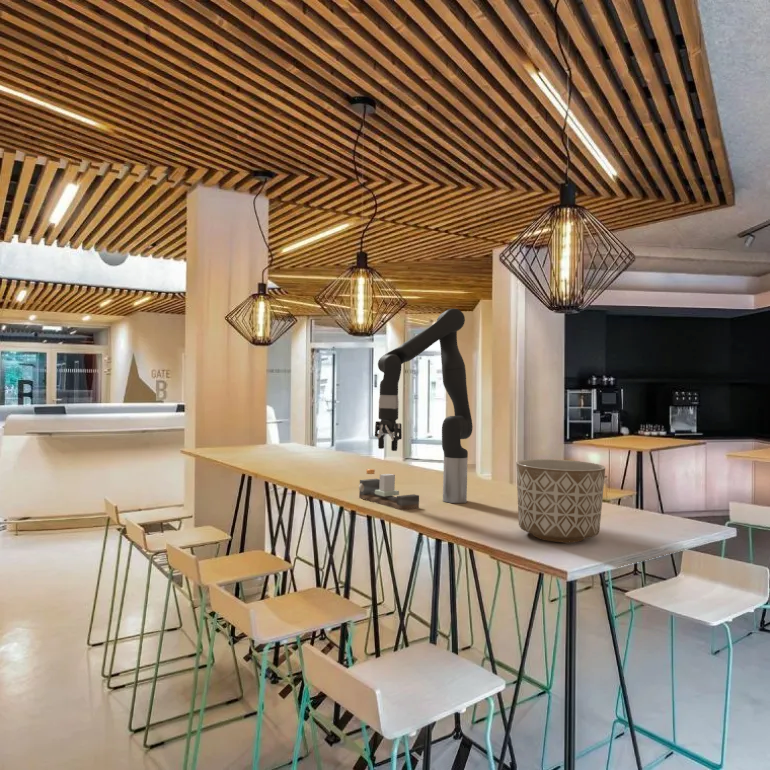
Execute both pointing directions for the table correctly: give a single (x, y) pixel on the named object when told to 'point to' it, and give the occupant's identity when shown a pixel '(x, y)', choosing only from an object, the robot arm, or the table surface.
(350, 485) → the table surface
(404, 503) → the rail
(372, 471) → the gauge button
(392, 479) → the carriage
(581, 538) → the planter
